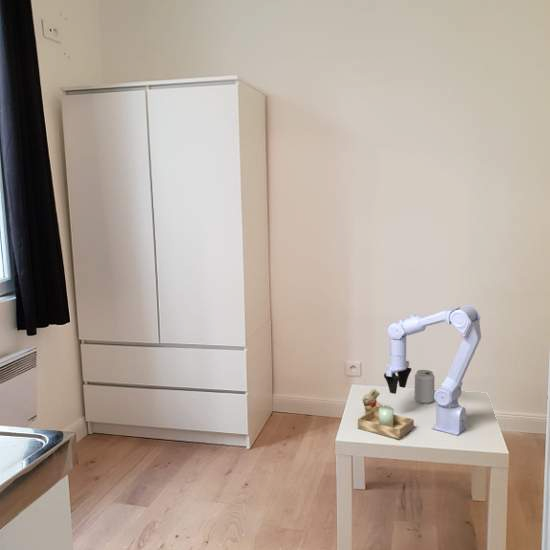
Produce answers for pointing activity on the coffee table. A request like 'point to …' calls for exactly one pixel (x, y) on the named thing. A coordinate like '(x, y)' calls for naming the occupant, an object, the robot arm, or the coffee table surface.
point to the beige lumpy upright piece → (371, 401)
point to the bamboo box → (397, 432)
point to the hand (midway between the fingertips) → (397, 389)
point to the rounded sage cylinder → (386, 416)
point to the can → (424, 386)
